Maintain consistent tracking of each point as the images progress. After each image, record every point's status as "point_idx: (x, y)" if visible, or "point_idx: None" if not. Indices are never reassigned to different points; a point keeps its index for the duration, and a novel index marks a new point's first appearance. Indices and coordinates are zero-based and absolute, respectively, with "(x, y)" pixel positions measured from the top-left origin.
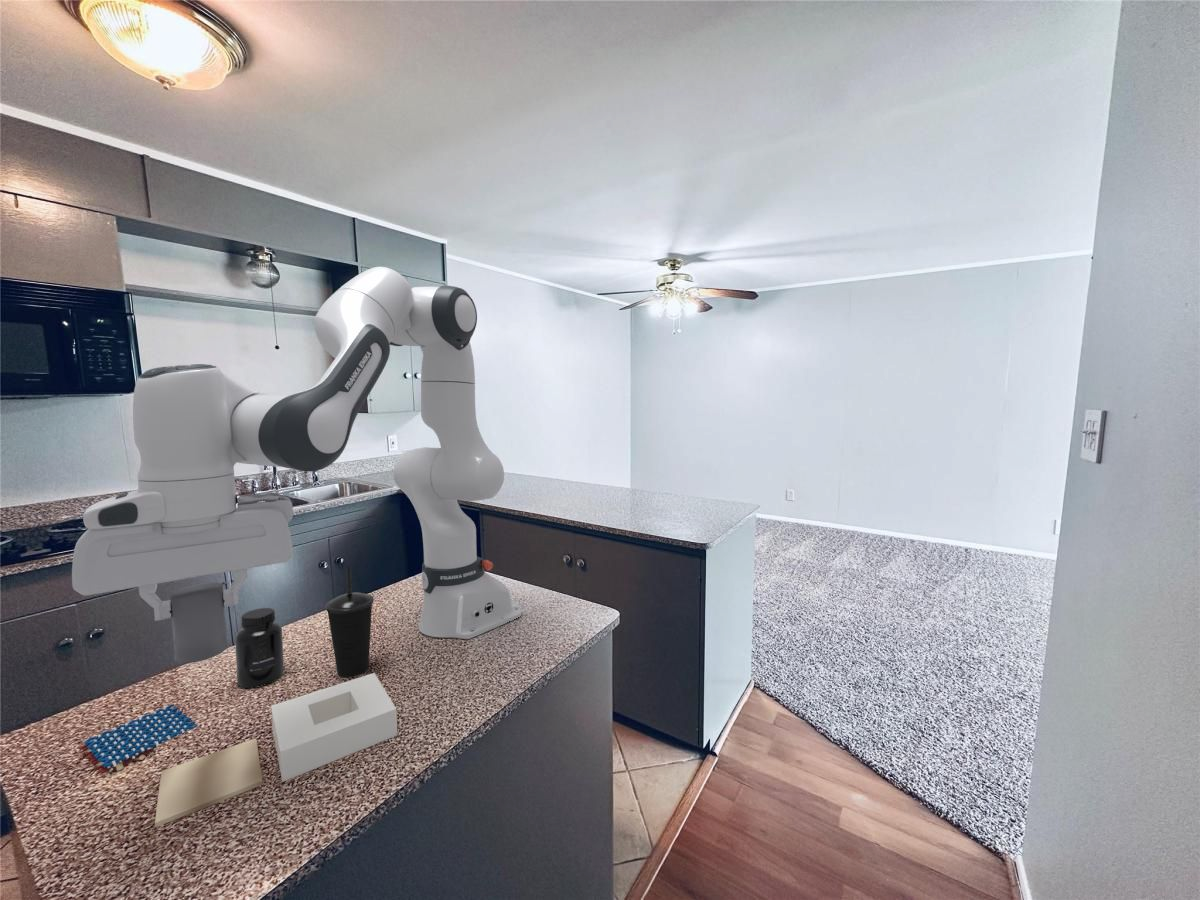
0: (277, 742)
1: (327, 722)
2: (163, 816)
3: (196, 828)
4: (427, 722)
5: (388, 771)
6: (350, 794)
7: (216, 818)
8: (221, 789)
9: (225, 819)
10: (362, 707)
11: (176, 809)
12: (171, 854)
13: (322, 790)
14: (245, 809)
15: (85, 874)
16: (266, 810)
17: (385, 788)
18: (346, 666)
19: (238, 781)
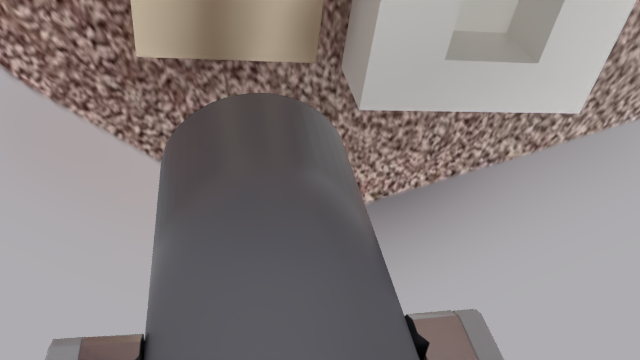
0: (367, 33)
1: (467, 69)
2: (148, 47)
3: (203, 72)
4: (611, 54)
5: (480, 136)
6: (415, 147)
7: (234, 68)
8: (247, 38)
9: (247, 81)
10: (546, 62)
11: (169, 41)
12: (170, 107)
13: (388, 113)
14: (278, 78)
15: (42, 67)
16: (306, 102)
17: (455, 166)
18: None
19: (278, 34)
